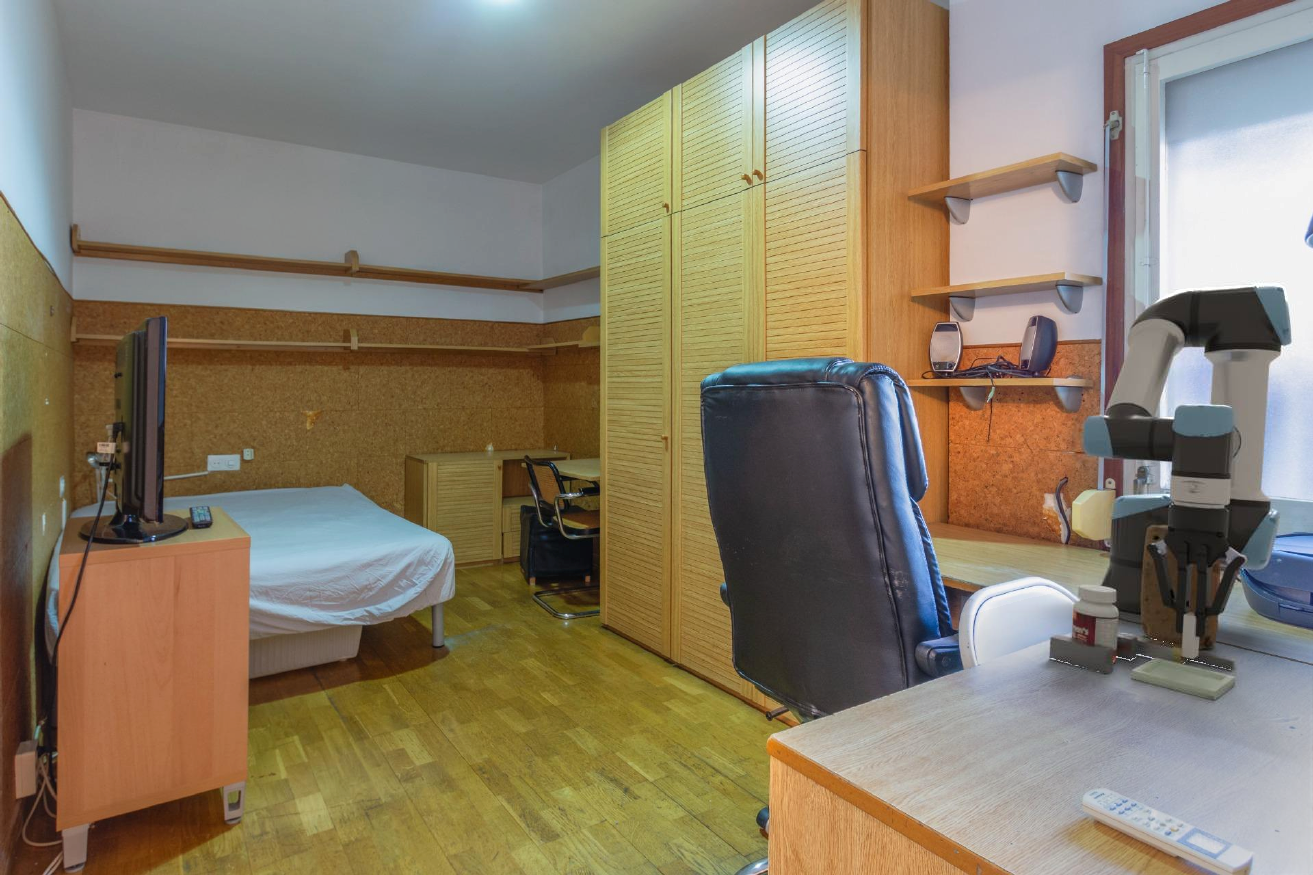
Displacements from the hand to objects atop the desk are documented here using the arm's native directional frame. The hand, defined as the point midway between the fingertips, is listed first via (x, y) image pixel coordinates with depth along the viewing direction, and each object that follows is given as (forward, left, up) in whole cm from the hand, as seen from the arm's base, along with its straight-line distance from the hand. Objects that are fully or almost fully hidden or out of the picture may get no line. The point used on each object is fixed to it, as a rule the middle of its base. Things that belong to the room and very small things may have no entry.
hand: (1189, 655), depth 116 cm
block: (-13, -5, -2) cm, 14 cm away
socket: (+10, -10, -2) cm, 14 cm away
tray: (+10, +2, -2) cm, 10 cm away
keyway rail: (-3, -3, -2) cm, 5 cm away
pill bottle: (+10, -10, -2) cm, 14 cm away
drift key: (0, -6, -2) cm, 6 cm away
